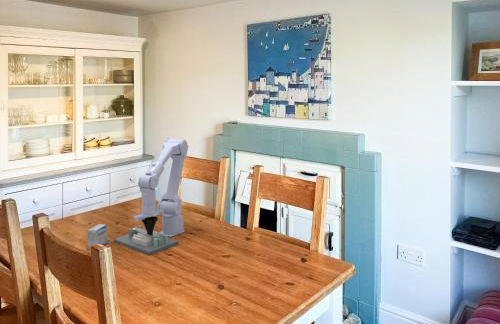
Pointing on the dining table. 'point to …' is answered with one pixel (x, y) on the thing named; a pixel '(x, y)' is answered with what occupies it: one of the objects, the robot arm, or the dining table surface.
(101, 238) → the medicine box
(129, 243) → the heatsink board
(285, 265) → the dining table surface
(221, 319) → the dining table surface
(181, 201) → the robot arm
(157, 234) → the strap
